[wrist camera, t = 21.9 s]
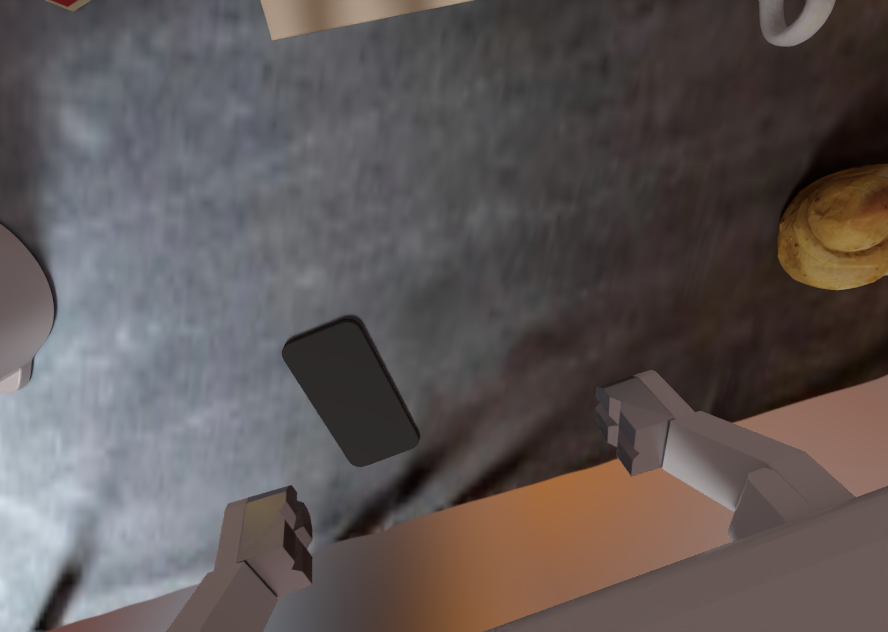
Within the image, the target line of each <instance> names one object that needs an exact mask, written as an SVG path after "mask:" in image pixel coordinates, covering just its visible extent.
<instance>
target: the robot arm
mask: <svg viewBox="0 0 888 632" xmlns="http://www.w3.org/2000/svg"><path fill="white" fill-rule="evenodd" d="M53 318H54V304H53V298H52V293H51V290H50V287H49V284H48V281H47V279H46V277H45V275H44V273H43V271H42V269H41V267H40V266H39V264H38V263H37V261H36V260H35V258H34V257H33V255H32V254H31V253H30V252H29V250H28V249H27V248H26V247H25V246H24V245H23V244H22V242H21V241H20V240H19V239H18V238H17V237H15V236H14V235H13V234H12V233H11V232H10V231H9V230H8V229H6V228H5V227H4V226H3V225H1V224H0V394H9V393H14V392H16V391H18V390H20V389H21V388H23V387H25V386H26V385H27V384H28V382H29V379H30V375H31V364H32V359H33V357H34V355H35V354H36V352H37V351H38V350H39V349H40V347H41V346H42V345H43V344H44V342H45V341H46V339H47V337H48V336H49V333H50V331H51V328H52V324H53ZM596 398H597V399H598V401H599V402H600V404H599V405H598V406H597V408H596V419H597V423H598V426H599V429H600V431H601V433H602V435H603V436H604V438H605V439H606V441H607V442H608V443H610V444H612V445H614V446H616V447H617V457H618V458H619V460H620V461H621V462H622V464H623V465H624V467H625V468H626V470H627V471H628V473H629V474H630V475H631V477H632V476H635V475H637V474H641V473H644V472H648V471H651V470H654V469H658V468H661V467H662V469H663V470H665V471H667V472H668V473H670V474H672V475H673V476H675V477H677V478H678V479H680V480H682V481H683V482H685V483H687V484H688V485H690V486H692V487H693V488H695V489H697V490H698V491H700V492H702V493H703V494H705V495H706V496H708V497H710V498H711V499H713V500H715V501H716V502H718V503H720V504H722V505H723V506H725V507H727V508H728V509H730V510H731V511H733V512H734V515H733V518H732V521H731V524H730V527H729V530H728V536H729V537H730V538H731V540H732V541H733V542H731V543H728V544H726V545H723V546H720V547H717V548H714V549H712V550H709V551H706V552H703V553H701V554H698V555H695V556H692V557H689V558H687V559H684V560H681V561H678V562H676V563H673V564H670V565H667V566H665V567H662V568H659V569H656V570H653V571H650V572H648V573H645V574H642V575H639V576H637V577H634V578H631V579H628V580H626V581H623V582H620V583H617V584H615V585H612V586H609V587H606V588H603V589H601V590H598V591H595V592H592V593H589V594H587V595H584V596H581V597H579V598H576V599H573V600H570V601H567V602H564V603H562V604H559V605H556V606H554V607H551V608H548V609H545V610H542V611H539V612H537V613H534V614H531V615H528V616H526V617H523V618H520V619H518V620H515V621H512V622H509V623H506V624H504V625H501V626H498V627H495V628H492V629H490V630H487V631H484V632H888V486H887V487H884V488H881V489H879V490H876V491H873V492H870V493H867V494H864V495H862V496H859V497H855V496H854V495H853V494H852V493H850V492H849V491H848V490H847V489H846V488H845V487H844V486H843V485H841V483H839V482H838V481H837V480H836V479H835V478H834V477H832V476H831V475H830V474H829V473H828V472H827V471H826V470H825V469H824V468H823V467H822V466H820V465H819V464H818V463H817V462H816V461H815V460H814V459H813V458H811V457H810V456H809V455H808V454H807V453H806V452H804V451H802V450H799V449H796V448H794V447H791V446H789V445H786V444H784V443H781V442H779V441H776V440H773V439H771V438H768V437H766V436H763V435H761V434H758V433H756V432H753V431H751V430H748V429H746V428H743V427H740V426H738V425H735V424H733V423H730V422H728V421H725V420H723V419H720V418H717V417H715V416H712V415H710V414H707V413H705V412H702V411H698V412H694V411H693V410H692V409H691V408H690V407H689V405H688V404H687V403H686V402H685V401H684V400H683V399H682V398H681V397H680V396H679V395H678V394H677V393H676V392H675V391H674V390H673V389H672V388H671V387H670V386H669V385H668V384H667V383H666V382H665V381H664V380H663V379H662V378H661V377H660V376H659V374H658V373H657V372H655V371H653V370H649V371H646V372H643V373H640V374H637V375H634V376H629V377H626V378H623V379H620V380H617V381H614V382H611V383H608V384H605V385H602V386H599V387H598V388H597V390H596ZM311 541H312V525H311V519H310V515H309V512H308V510H307V508H306V506H305V504H304V503H303V502H300V501H297V492H296V491H295V489H294V488H293V487H292V485H291V486H287V487H283V488H280V489H276V490H273V491H269V492H266V493H262V494H259V495H256V496H252V497H249V498H246V499H242V500H239V501H236V502H232V503H229V504H228V505H227V507H226V509H225V511H224V516H223V521H222V527H221V533H220V538H219V544H218V549H217V555H216V560H215V566H214V571H212V572H210V573H207V575H206V576H205V577H204V579H203V580H202V582H201V583H200V584H199V586H198V587H197V589H196V590H195V592H194V593H193V594H192V596H191V597H190V599H189V600H188V602H187V603H186V604H185V606H184V607H183V609H182V610H181V611H180V613H179V614H178V616H177V617H176V619H175V620H174V622H173V623H172V624H171V626H170V627H169V629H168V630H167V631H166V632H263V631H264V629H265V626H266V624H267V622H268V620H269V618H270V616H271V614H272V612H273V609H274V607H275V605H276V603H277V601H278V599H277V597H280V596H283V595H285V594H288V593H291V592H293V591H296V590H299V589H302V588H304V587H307V586H310V585H312V556H311V555H310V553H309V552H308V550H307V548H308V546H309V545H310V543H311Z"/></svg>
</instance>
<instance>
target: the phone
mask: <svg viewBox="0 0 888 632" xmlns="http://www.w3.org/2000/svg"><path fill="white" fill-rule="evenodd" d="M282 357H283V359H284V361H285V363H286V364H287V366H288V367H289V369H290V370H291V372H292V373H293V375H294V377H295V378H296V380H297V381H298V383H299V384H300V386H301V387H302V389H303V391H304V392H305V394H306V395H307V397H308V398H309V400H310V401H311V403H312V405H313V406H314V408H315V409H316V411H317V412H318V414H319V415H320V417H321V419H322V420H323V422H324V423H325V425H326V426H327V428H328V429H329V431H330V433H331V434H332V436H333V437H334V439H335V440H336V442H337V443H338V445H339V446H340V448H341V450H342V451H343V453H344V454H345V456H346V457H347V459H348V460H349V462H350V463H351V464H352V465H354V466H357V467H363V466H367V465H370V464H373V463H375V462H378V461H381V460H383V459H386V458H389V457H391V456H394V455H397V454H399V453H402V452H405V451H407V450H410V449H412V448H414V447H415V446H417V444H418V442H419V436H418V433H417V431H416V429H415V427H414V425H413V423H412V422H411V420H410V418H409V416H408V414H407V412H406V410H405V408H404V406H403V405H402V403H401V401H400V399H399V397H398V395H397V393H396V391H395V389H394V388H393V386H392V384H391V382H390V380H389V378H388V376H387V374H386V372H385V371H384V369H383V366H382V364H381V362H380V360H379V358H378V356H377V355H376V353H375V352H374V350H373V348H372V346H371V344H370V342H369V340H368V338H367V337H366V335H365V333H364V331H363V329H362V327H361V326H360V324H359V323H358V322H356V321H355V320H352V319H344V320H341V321H338V322H336V323H333V324H331V325H328V326H326V327H323V328H321V329H318V330H316V331H313V332H311V333H308V334H306V335H303V336H301V337H298V338H296V339H293V340H291V341H289V342H288V343H286V344H285V346H284V348H283V350H282Z"/></svg>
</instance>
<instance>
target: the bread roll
mask: <svg viewBox="0 0 888 632" xmlns="http://www.w3.org/2000/svg"><path fill="white" fill-rule="evenodd" d="M777 241H778V259H779V261H780V263H781V265H782V267H783V269H784V270H785V271H786V272H787V273H788V274H789V275H790V276H791V277H792V278H793V279H795V280H797V281H799V282H801V283H804V284H807V285H810V286H813V287H818V288H823V289H831V290H842V289H850V288H854V287H858V286H862V285H866V284H868V283H872V282H875V281H876V280H877V279H880V278H881V277H882V276H883V275H888V164H875V165H867V166H859V167H854V168H850V169H845V170H842V171H839V172H836V173H833V174H830V175H827V176H824V177H822V178H820V179H818V180H816V181H814V182H813V183H811V184H809V185H808V186H806V187H804V188H803V189H802V190H801V191H799V192H798V194H797V196H796V197H795V198H794V199H793V200H792V201H791V202H790V204H789V205H788V207H787V208H786V209H785V211H784V214H783V216H782V218H781V220H780V223H779V229H778V239H777Z"/></svg>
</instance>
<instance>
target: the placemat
mask: <svg viewBox="0 0 888 632" xmlns="http://www.w3.org/2000/svg"><path fill="white" fill-rule="evenodd" d="M468 1H473V0H261V3H262V7H263V10H264V13H265V17H266V20H267V24H268V27H269V31H270V34H271V37H272V40H277V39H282V38H287V37H292V36H297V35H302V34H307V33H312V32H317V31H323V30H328V29H333V28H338V27H343V26H348V25H353V24H358V23H363V22H368V21H373V20H378V19H383V18H388V17H393V16H398V15H403V14H408V13H413V12H418V11H423V10H428V9H433V8H438V7H443V6H448V5H453V4H458V3H463V2H468Z"/></svg>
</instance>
